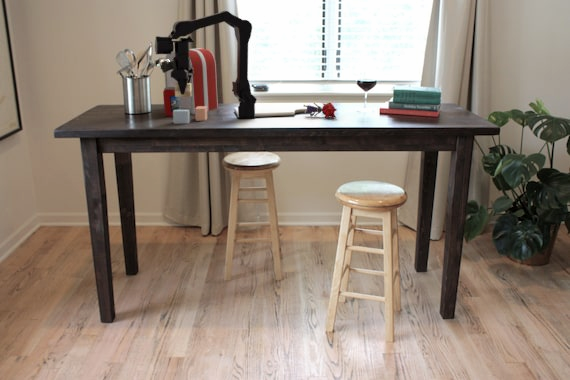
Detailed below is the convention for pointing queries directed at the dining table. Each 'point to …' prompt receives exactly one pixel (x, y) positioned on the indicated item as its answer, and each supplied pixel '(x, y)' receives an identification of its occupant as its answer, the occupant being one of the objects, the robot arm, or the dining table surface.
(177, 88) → the maple block
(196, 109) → the terracotta block
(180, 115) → the gray block
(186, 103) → the striped red arch
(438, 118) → the dining table surface
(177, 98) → the beverage can
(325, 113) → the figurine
